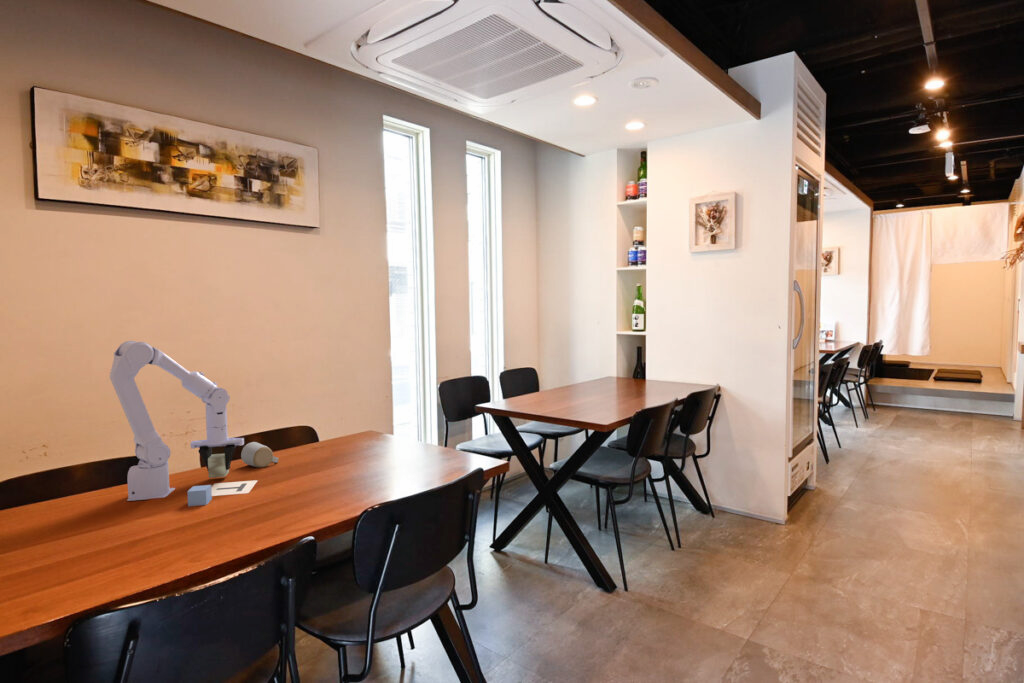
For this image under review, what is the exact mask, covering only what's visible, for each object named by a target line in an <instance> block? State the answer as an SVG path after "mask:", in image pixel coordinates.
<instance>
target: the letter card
mask: <svg viewBox="0 0 1024 683" xmlns="http://www.w3.org/2000/svg"><path fill="white" fill-rule="evenodd" d="M258 481H259V480H256V479H255V480H254V479H253V480H244V481H243V480H242V481H231V482H218V483H217V482H216V483H213V485H211V491H212V497H215V496H217V497H218V496H229V495H240V494H241V495H244V494H249V493H250V492H251V490H252V489H253V488H254V486H255V485H256V484H257V482H258Z"/></svg>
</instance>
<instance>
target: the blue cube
mask: <svg viewBox="0 0 1024 683" xmlns="http://www.w3.org/2000/svg"><path fill="white" fill-rule="evenodd" d="M211 487H212V484H206V485H205V484H204V485H193V486H192V487H191V488H189V489H188V491H187V506H188V507H195V506H207V505H208V504H209V503H210V502H211V501H212V499H213V496H212V491H211Z"/></svg>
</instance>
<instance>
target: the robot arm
mask: <svg viewBox="0 0 1024 683" xmlns="http://www.w3.org/2000/svg"><path fill="white" fill-rule="evenodd" d="M146 365H152V366H157V367H159V368H161V370H164V371H165V372H167V373H169V374H171V375H172V376H173V377H175V378H176V379H179V380H180V382H181V387H182V388H183V389H185V390H187V391H189V392H190V393H191V394H193V395H194V396H196V397H197V398H199V399H201V401H202V403H204V404H205V406H204V407H205V423H206V439H201V440H200V439H199V440H198V439H197V440H192V441H191V442H190V449H195V448H196V449H198V448H199V449H198V454H199V455H200V456H201V458H202V459H203V462H204V464H205V466H206V470H207V471H208V458H209V457H210V456H211V455H212V453H213V450H212V449H213V448H215V447H224V448H223V452H224V454H225V459H226V470H229V471H230V469H231V463H232V459H233V455H234V453H235V451H236V448H237V446H238V447H239V446H245V437H229V431H228V410H227V405H228V404H229V401H230V399H231V397H230V395H229V393H228V390H226V389H225V388H222V387H218V383H217V382H215V381H211V380H210V379H208V378H207V377H205V373H204V372H202V371H199V372H198V371H197V370H195V371H189V370H188V369H186V368H185V367H184V366H182V365H181V364H180V363H178V362H177V361H175V360H174V359H173V358H171V357H170V356H168V355H167V354H166V353H165V352H164V351H162V350H160V349H158V348H156V347H154V346H151V345H150V343H148V342H145V341H135V340H128V341H125V342H122V343H120V345H119V346H118V348H116V350H115V351H114V352H113V361H112V366H111V369H110V373H109V379H110V381H111V384H112V386H113V389H114V391H115V393H116V396H117V398H118V401H119V403H120V405H121V407H122V410H123V412H124V414H125V417H126V419H127V421H128V424H129V426H130V428H131V430H132V434H133V442H134V444H135V446H134V447H135V449H134V454H135V456H136V457H137V459H138V460H139V461H138V463H137V465H133V466H130V467H129V469H128V471H127V480H126V481H127V495H128V498H127V499H126V500H127V502H130V501H143V500H144V501H145V500H149V499H161V498H162V499H163V498H167V497H168V496H169V495H170V494H171V493H172V492H173V491H174V490H176V487H170V473H169V471H170V470H169V459H170V457H171V453H172V452H171V448H170V447H169V446H168V445H167V444H166V443H164V442H163V440H162V437H161V436H160V435H159V433H158V431H157V430H156V428H155V426H154V424H153V422H152V418H151V416H150V414H149V411H148V409H147V406H146V405H145V403H144V400H143V397H142V394H141V392H140V390H139V387H138V385H137V383H136V381H135V378H136V376H137V375H138V373H139V372H140V371H141V369H142V368H144V367H145V366H146Z"/></svg>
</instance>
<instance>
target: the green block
mask: <svg viewBox="0 0 1024 683" xmlns="http://www.w3.org/2000/svg"><path fill="white" fill-rule="evenodd" d="M207 472H208V478H209V479H211V478H213V479H214V478H224V477H226V476H227V475H228V474H229V473H230V469H229V470H226V459H225V453H214V454H212V455H211V456H210V457H209V458H208V470H207Z"/></svg>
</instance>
